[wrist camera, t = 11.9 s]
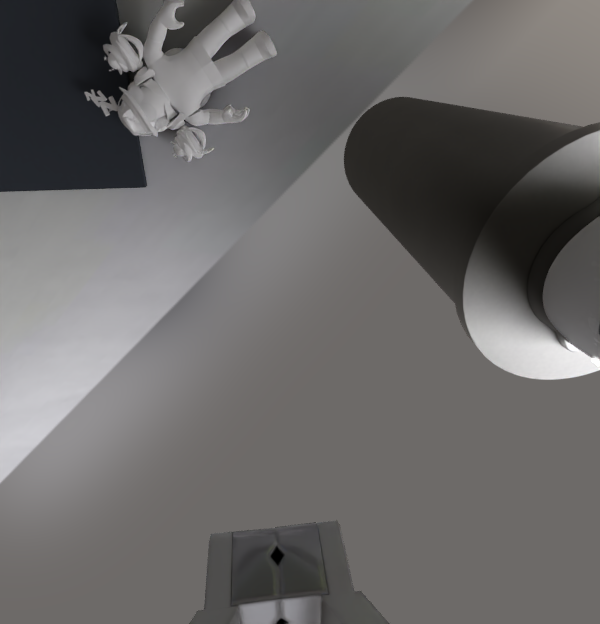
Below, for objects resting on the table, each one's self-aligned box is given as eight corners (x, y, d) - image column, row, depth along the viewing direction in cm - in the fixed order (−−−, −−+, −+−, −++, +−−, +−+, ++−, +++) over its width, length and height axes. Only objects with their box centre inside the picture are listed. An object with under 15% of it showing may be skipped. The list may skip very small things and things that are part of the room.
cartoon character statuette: (213, -42, 28) (65, 70, 29) (220, -58, 25) (52, 69, 26) (287, 90, 33) (158, 185, 34) (301, 91, 30) (158, 196, 30)
